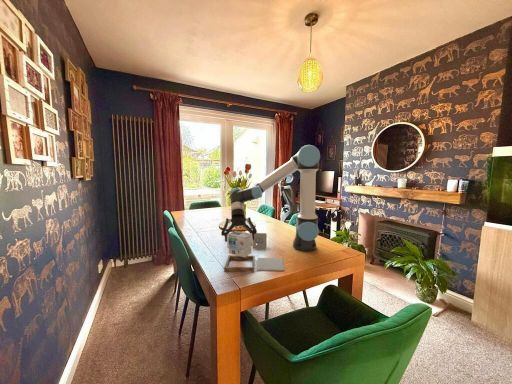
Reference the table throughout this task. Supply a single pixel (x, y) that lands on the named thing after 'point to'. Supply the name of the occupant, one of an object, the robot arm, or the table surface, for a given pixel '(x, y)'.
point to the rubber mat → (270, 264)
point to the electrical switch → (260, 240)
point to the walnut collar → (239, 269)
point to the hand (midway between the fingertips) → (240, 246)
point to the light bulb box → (240, 243)
